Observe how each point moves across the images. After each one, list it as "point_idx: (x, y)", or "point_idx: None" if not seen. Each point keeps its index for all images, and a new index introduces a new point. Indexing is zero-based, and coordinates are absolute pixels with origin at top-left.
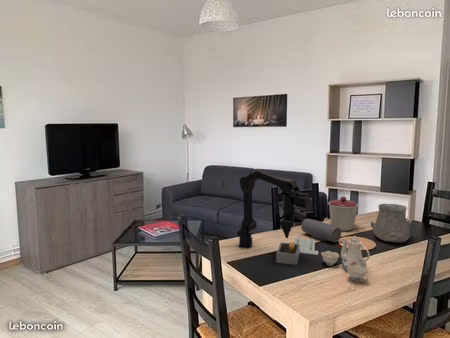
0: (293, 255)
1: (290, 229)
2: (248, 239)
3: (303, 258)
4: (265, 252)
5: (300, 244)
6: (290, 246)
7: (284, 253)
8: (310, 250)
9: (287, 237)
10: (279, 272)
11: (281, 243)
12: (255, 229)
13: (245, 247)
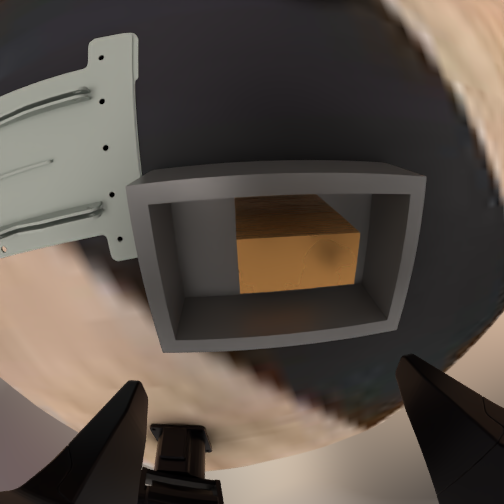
0: (418, 206)
1: (129, 409)
2: (191, 461)
3: (252, 122)
4: (227, 371)
5: (39, 196)
6: (352, 266)
7: (407, 279)
8: (94, 95)
9: (413, 361)
10: (467, 248)
11: (182, 344)
12: (149, 488)
13: (207, 436)
